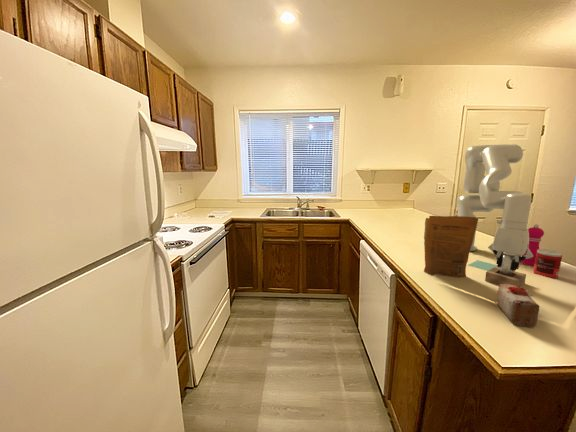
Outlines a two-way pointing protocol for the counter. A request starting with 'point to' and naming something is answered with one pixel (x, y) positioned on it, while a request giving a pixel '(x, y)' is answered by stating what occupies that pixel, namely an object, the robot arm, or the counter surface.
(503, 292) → the food item
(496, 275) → the socket block
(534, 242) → the pepper mill
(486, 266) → the mat
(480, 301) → the counter surface
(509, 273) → the steel pin
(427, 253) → the pancake mix bag
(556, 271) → the canned food
